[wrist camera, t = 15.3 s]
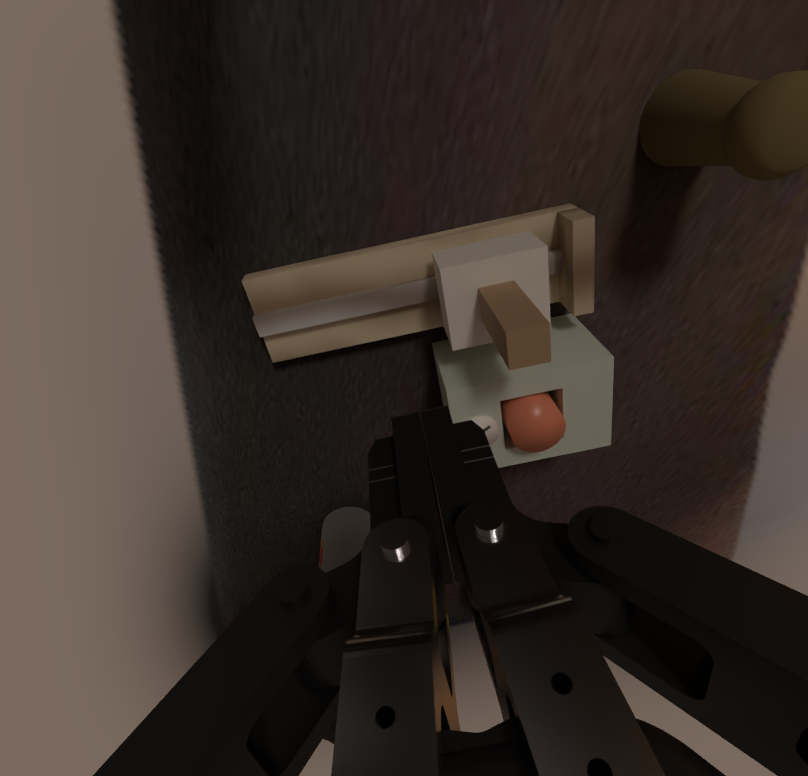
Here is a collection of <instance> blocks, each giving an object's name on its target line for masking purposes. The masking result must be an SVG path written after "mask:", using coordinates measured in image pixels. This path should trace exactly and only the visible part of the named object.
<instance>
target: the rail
mask: <svg viewBox="0 0 808 776" xmlns="http://www.w3.org/2000/svg"><path fill="white" fill-rule="evenodd" d="M525 231H530V232H531V233H532V234H534V235H535V236H536V237H537V238H539V239H540V240H541V241H542V242H544V243H545V244H546V245H547V246H548V268H549V294H550V304H551V303H555V302H560V303H561V304H562V305H563V306H564V307H565V308H566V309H567V310H568V311H569V312H570V313H571V314H572V315H573V316H578V315H582V314H587V313H592V312H594V252H595V216H593V215H591V214H589V213H587V212H585V211H584V210H582V209H580V208H578V207H576V206H574V205H572V204H570V203H569V204H565V205H560V206H556V207H551V208H547V209H542V210H538V211H533V212H528V213H524V214H519V215H515V216H510V217H506V218H501V219H496V220H492V221H487V222H483V223H478V224H474V225H469V226H464V227H460V228H455V229H451V230H446V231H442V232H437V233H433V234H428V235H423V236H419V237H414V238H410V239H405V240H401V241H396V242H391V243H387V244H382V245H378V246H373V247H369V248H364V249H360V250H355V251H350V252H346V253H341V254H337V255H332V256H328V257H323V258H318V259H314V260H309V261H305V262H300V263H296V264H291V265H287V266H282V267H277V268H273V269H268V270H264V271H259V272H255V273H250V274H245V276H244V278H243V279H242V284H243V286H244V289H245V291H246V294H247V297H248V299H249V302H250V304H251V307H252V310H253V312H254V316H253V318H252V319H253V321H254V324H255V326H256V329H257V332H258V334H259V337H263V338H264V341H265V343H266V346H267V349H268V351H269V354H270V357H271V359H272V362H273V363H274V362H279V361H283V360H288V359H293V358H298V357H302V356H307V355H312V354H316V353H321V352H326V351H330V350H335V349H340V348H344V347H349V346H354V345H358V344H363V343H368V342H373V341H377V340H382V339H387V338H391V337H396V336H401V335H405V334H410V333H415V332H419V331H424V330H429V329H434V328H438V327H443V326H444V324H443V318H442V312H441V306H440V300H439V294H438V288H437V282H436V276H435V270H434V264H433V258H432V252H433V251H438V250H442V249H447V248H451V247H456V246H461V245H465V244H470V243H474V242H479V241H484V240H488V239H493V238H497V237H502V236H507V235H511V234H516V233H520V232H525Z"/></svg>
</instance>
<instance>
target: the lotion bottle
mask: <svg viewBox="0 0 808 776" xmlns="http://www.w3.org/2000/svg"><path fill="white" fill-rule="evenodd" d="M369 532H370V513H369V512H367V511H366V510H364V509H361V508H358V507H342V508H339V509H336V510H334V511H333V512H331V513H330V514H329V515H328V516H327V517H326V518H325V520H324V523H323V527H322V536H321V547H320V560H319V568H320V569H322V570H323V571H324V572H325V573H326V572H328V571H330V570H332V569H334V568H336V567H338V566H340V565H342V564H344V563H346V562H348V561H349V560H351V559H352V558H354V557H355V556H356V555H357V554H358V553H359V552H360V551H361V550H362V546H363V543H364V540H365V538H366V536H367V535H368V534H369ZM336 722H337V717H336V718H335V720H334V722H333V723H332V725H331V726H330V728H329V729H328V731H327V732H326V734H325V735H324V737H323V739H325V740H328V741H330V742H331V743H333V744H334V743H335V733H336Z"/></svg>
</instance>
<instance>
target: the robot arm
mask: <svg viewBox="0 0 808 776" xmlns="http://www.w3.org/2000/svg"><path fill="white" fill-rule="evenodd" d="M421 415H422V420H423V425H424V430H425V435H426V440H427V445H428V450H429V454H430V459H431V464H432V469H433V474H434V479H435V484H436V489H437V494H438V499H439V504H440V509H441V514H442V518H443V523H444V528H445V532H446V537H447V542H448V546H449V551H450V555H451V560H452V565H453V569H454V574H455V579H456V582H459V581H464V580H465V584H466V588H467V593H468V597H469V602H470V607H471V612H472V616H473V619H474V622H475V626H476V629H477V632H478V635H479V639H480V642H481V645H482V648H483V652H484V655H485V658H486V661H487V665H488V668H489V671H490V675H491V678H492V681H493V684H494V688H495V690H496V694H497V698H498V701H499V705H500V708H501V712H502V716H503V720H504V722H502V723H500V724H498V725H496V726H494V727H492V728H490V729H488V730H486V731H484V732H480V733H471V732H463V731H460V726H459V720H458V714H457V706H456V697H455V686H454V676H453V665H452V653H451V642H450V632H449V621H448V615H447V611H448V602H447V597H446V591H445V584H450V583H453V579H452V574H451V568H450V563H449V558H448V553H447V548H446V543H445V538H444V533H443V528H442V523H441V518H440V513H439V508H438V502H437V497H436V492H435V487H434V482H433V477H432V472H431V467H430V463H429V458H428V453H427V449H426V444H425V439H424V435H423V430H422V426H421V421H420V416H419V412H413V413H408V414H404V415H399V416H394V417H392V428H393V436H392V437H387V438H382V439H377V440H375V442H374V444H373V446H372V448H371V450H370V451H369V453H368V468H369V499H370V532H369V534H368V535H367V536H366V538H365V540H364V543H363V546H362V550H361V551H360V552H359V553H358V554H357V555H356V556H355V557H354V558H352V559H351V560H349V561H348V562H346V563H344V564H342V565H340V566H338V567H336V568H334V569H332V570H330V571H328V572H326V573H325V572H324V571H323V570H322V569H320V568H319V567H317V566H314V565H310V564H300V565H295V566H292V567H289V568H287V569H285V570H283V571H281V572H280V573H278V574H277V575H276V576H274V577H273V578H272V579H271V580H270V581H269V582H268V583H267V585H266V586H265V587H264V588H263V589H262V590H261V591H260V592H259V593H258V594H257V596H256V597H255V598H254V599H253V600H252V601H251V602H250V603H249V604H248V605H247V607H246V608H245V609H244V610H243V611H242V612H241V613H240V614H239V615H238V616H237V618H236V619H235V620H234V621H233V622H232V623H231V624H230V625H229V626H228V627H227V629H226V630H225V631H224V632H223V633H222V634H221V635H220V636H219V637H218V639H217V640H216V641H215V642H214V643H213V644H212V645H211V646H210V648H209V649H208V650H207V651H206V652H205V653H204V654H203V655H202V656H201V657H200V658H199V659H198V661H197V662H196V663H195V664H194V665H193V666H192V667H191V668H190V669H189V670H188V672H187V673H186V674H185V675H184V676H183V677H182V678H181V679H180V680H179V681H178V683H177V684H176V685H175V686H174V687H173V688H172V689H171V690H170V691H169V692H168V694H167V695H166V696H165V697H164V698H163V699H162V700H161V701H160V702H159V703H158V705H157V706H156V707H155V708H154V709H153V710H152V711H151V712H150V713H149V714H148V716H147V717H146V718H145V719H144V720H143V721H142V722H141V723H140V724H139V726H138V727H137V728H136V729H135V730H134V731H133V732H132V733H131V734H130V736H128V738H127V739H126V740H125V741H124V742H123V743H122V744H121V745H120V746H119V748H118V749H117V750H116V751H115V752H114V753H113V754H112V755H111V756H110V757H109V758H108V760H107V761H106V762H105V763H104V764H103V765H102V766H101V767H100V768H99V769H98V771H97V772H96V773H95V774H94V775H93V776H299V774H300V773H301V771H302V769H303V768H304V766H305V765H306V763H307V762H308V760H309V759H310V757H311V756H312V754H313V752H314V751H315V749H316V748H317V746H318V745H319V743H320V742H321V740H322V739H323V737H324V735H325V734H326V732H327V731H328V729H329V728H330V726H331V725H332V723H333V722H334V720H335V718H336V717H337V722H336V733H335V743H334V753H333V764H332V774H331V776H725V775H724V774H723V773H721V772H720V771H719V770H718V769H716V768H715V767H714V766H712V765H711V764H710V763H708V762H707V761H706V760H705V759H703V758H702V757H701V756H699V755H698V754H697V753H696V752H694V751H693V750H692V749H690V748H689V747H688V746H686V745H685V744H684V743H682V742H681V741H679V740H678V739H676V738H675V737H673V736H671V735H670V734H668V733H667V732H665V731H663V730H661V729H659V728H657V727H655V726H653V725H651V724H649V723H647V722H644V721H642V720H639V719H636V718H635V716H634V714H633V712H632V710H631V708H630V706H629V704H628V703H627V701H626V699H625V697H624V695H623V693H622V691H621V689H620V687H619V686H618V684H617V681H616V680H615V678H614V676H613V674H612V672H611V670H610V668H609V666H608V664H607V662H606V660H605V658H604V656H605V657H606V658H608V659H609V660H611V661H612V662H614V663H615V664H617V665H618V666H619V667H621V668H622V669H624V670H625V671H627V672H628V673H630V674H631V675H633V676H634V677H635V678H637V679H638V680H640V681H641V682H643V683H644V684H646V685H647V686H649V687H650V688H651V689H653V690H654V691H656V692H657V693H659V694H660V695H662V696H663V697H664V698H666V699H667V700H669V701H670V702H672V703H673V704H675V705H676V706H677V707H679V708H680V709H682V710H683V711H685V712H686V713H687V714H689V715H690V716H692V717H693V718H695V719H696V720H698V721H699V722H701V723H702V724H703V725H705V726H706V727H708V728H709V729H711V730H712V731H714V732H715V733H717V734H718V735H720V736H721V737H722V738H724V739H725V740H727V741H728V742H729V743H731V744H732V745H734V746H735V747H737V748H738V749H740V750H741V751H743V752H744V753H745V754H747V755H748V756H750V757H751V758H753V759H754V760H756V761H757V762H759V763H760V764H761V765H763V766H764V767H766V768H767V769H769V770H770V771H772V772H773V773H774V774H776V775H777V776H808V596H806V595H804V594H802V593H800V592H798V591H796V590H793V589H791V588H789V587H787V586H785V585H783V584H780V583H778V582H776V581H774V580H772V579H770V578H767V577H765V576H763V575H761V574H759V573H757V572H754V571H752V570H750V569H748V568H746V567H744V566H741V565H739V564H737V563H735V562H733V561H731V560H729V559H726V558H724V557H722V556H720V555H718V554H716V553H713V552H711V551H709V550H707V549H705V548H703V547H700V546H698V545H696V544H694V543H692V542H690V541H687V540H685V539H683V538H681V537H679V536H677V535H674V534H672V533H670V532H668V531H666V530H664V529H661V528H659V527H657V526H655V525H653V524H651V523H649V522H646V521H644V520H642V519H640V518H638V517H636V516H633V515H631V514H629V513H627V512H625V511H622V510H620V509H617V508H613V507H606V506H596V507H590V508H586V509H584V510H581V511H580V512H578V513H577V514H575V515H574V516H573V517H572V519H571V520H570V522H569V524H564V523H550V522H542V521H538V520H534V519H532V518H529V517H527V516H525V515H524V514H522V513H521V512H519V511H518V510H517V509H516V508H515V507H514V505H513V504H512V502H511V500H510V498H509V495H508V492H507V490H506V487H505V484H504V482H503V479H502V476H501V474H500V471H499V469H498V466H497V463H496V461H495V458H494V456H493V453H492V450H491V447H490V445H489V442H488V439H487V437H486V434H485V431H484V430H483V429H482V428H481V427H480V426H478V425H477V424H476V423H475V422H474V421H472V420H468V421H464V422H459V423H454V424H453V422H452V418H451V415H450V411H449V408H448V405H446V406H441V407H437V408H432V409H427V410H422V411H421Z"/></svg>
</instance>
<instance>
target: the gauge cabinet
mask: <svg viewBox="0 0 808 776" xmlns="http://www.w3.org/2000/svg"><path fill="white" fill-rule="evenodd" d="M550 320H551V330H550V337H551V362H548V363H543V364H538V365H534V366H529V367H524V368H519V369H515V370H510V371H509V369H508V367H507V366H506V364H505V362H504V360H503V358H502V356H501V355H500V353H499V351H498V349H497V347H496V345H495V344H494V342H493V343H488V344H483V345H478V346H474V347H469V348H464V349H459V350H455V351H453V350H452V348H451V345H450V342H449V340H444V341H439V342H434V343H432V347H433V352H434V358H435V363H436V369H437V374H438V380H439V385H440V390H441V396H442V401H443V406H446V405H448V408H449V411H450V415H451V418H452V422H453V424H454V423H459V422H464V421H468V420H472V421H474V422H475V423H476V424H477V425H478V426H480V427H481V428H482V429H483V430H484V431H485V434H486V437H487V439H488V442H489V445H490V447H491V450H492V453H493V456H494V458H495V461H496V463H497V466H498V468H501V467H505V466H510V465H515V464H520V463H525V462H530V461H535V460H540V459H545V458H550V457H554V456H559V455H564V454H569V453H574V452H579V451H584V450H589V449H594V448H599V447H603V446H608V445H611V426H612V398H613V371H614V357H613V356H612V355H611V353H610V352H609V351H608V350H607V349H606V348H605V347H604V346H603V345H602V344H601V343H600V342H599V341H598V340H597V339H596V338H595V337H594V336H593V335H592V334H591V333H590V332H589V331H588V330H587V329H586V328H585V327H584V326H583V325H582V324H581V323H580V322H579V321H578V319H577V318H576V317H575V316H573V315H572V314H566V315H561V316H556V317H552V318H550ZM546 391H547V392H548V393H549V395H550V396H551V398H552V400H553V401H554V403H555V404H556V406H557V407H558V409H559V411H560V412H561V414H562V415H563V417H564V419H565V422H566V429H565V433H564V435H563V437H562V438H561V440H560V441H559V442H558V443H557V444H556V445H554V446H553V447H551V448H549V449H547V450H545V451H541V452H534V453H532V452H526V451H523V450H521V449H519V448H518V447H517V446H516V445H515V444H514V443H513V441H512V438H511V436H510V434H509V432H508V429H507V427H506V425H505V423H504V420H503V418H502V415H501V406H500V401H503V400H508V399H512V398H517V397H522V396H527V395H532V394H536V393H541V392H546Z"/></svg>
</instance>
